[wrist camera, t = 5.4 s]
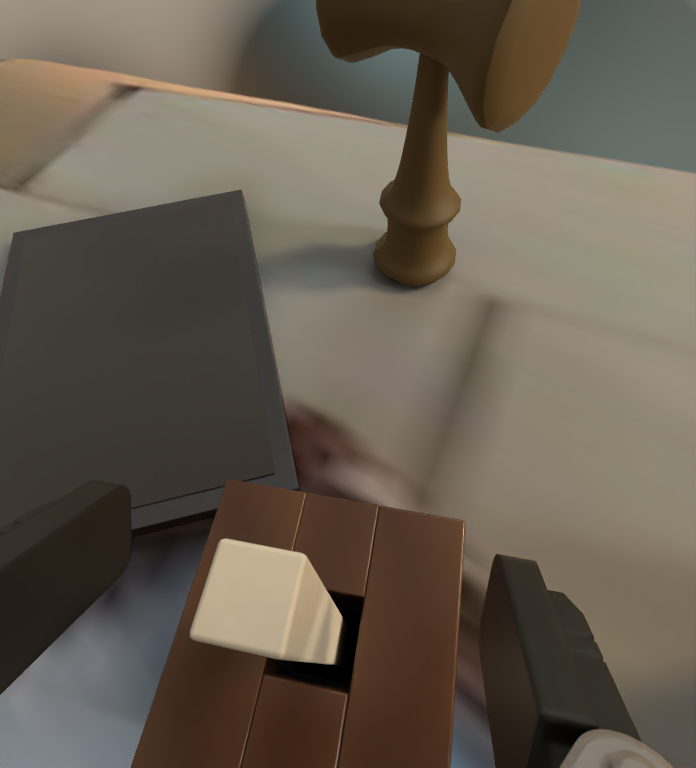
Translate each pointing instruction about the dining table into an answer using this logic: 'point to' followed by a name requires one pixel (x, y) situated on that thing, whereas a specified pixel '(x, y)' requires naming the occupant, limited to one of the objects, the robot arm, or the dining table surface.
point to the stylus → (269, 606)
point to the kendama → (429, 107)
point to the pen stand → (309, 694)
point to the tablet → (140, 363)
